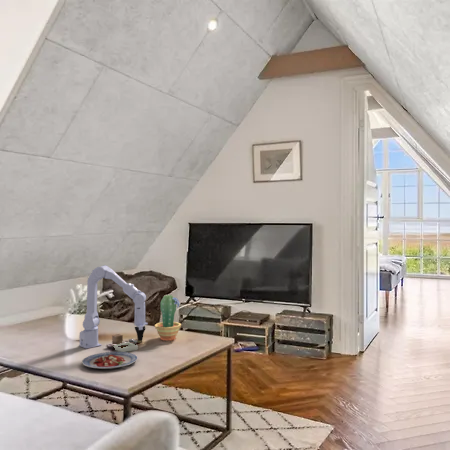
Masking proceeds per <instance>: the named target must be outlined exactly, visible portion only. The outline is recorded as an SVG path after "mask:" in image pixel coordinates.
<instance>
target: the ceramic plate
mask: <svg viewBox="0 0 450 450" xmlns="http://www.w3.org/2000/svg"><path fill="white" fill-rule="evenodd" d="M136 361H138V355H136V354H134V353H132V352H118V351H108V352H107V351H105V352H98V353H94V354H91V355H88V356H86V357H85V358H83V359H82V360H81V363H82V365H83V366H85V367H88V368H93V369H100V370H112V369H119V368H123V367H125V366H129V365H132V364H134V363H135V362H136Z"/></svg>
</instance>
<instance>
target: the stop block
mask: <svg viewBox="0 0 450 450" xmlns="http://www.w3.org/2000/svg"><path fill="white" fill-rule="evenodd" d="M123 336H124V335H123V334H120V333H118V334H117V333H116V334H113V335H111V337H112V338H111V341H112V342H111V343H112V344H120V343H124V342H123V341H124V340H123Z"/></svg>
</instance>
